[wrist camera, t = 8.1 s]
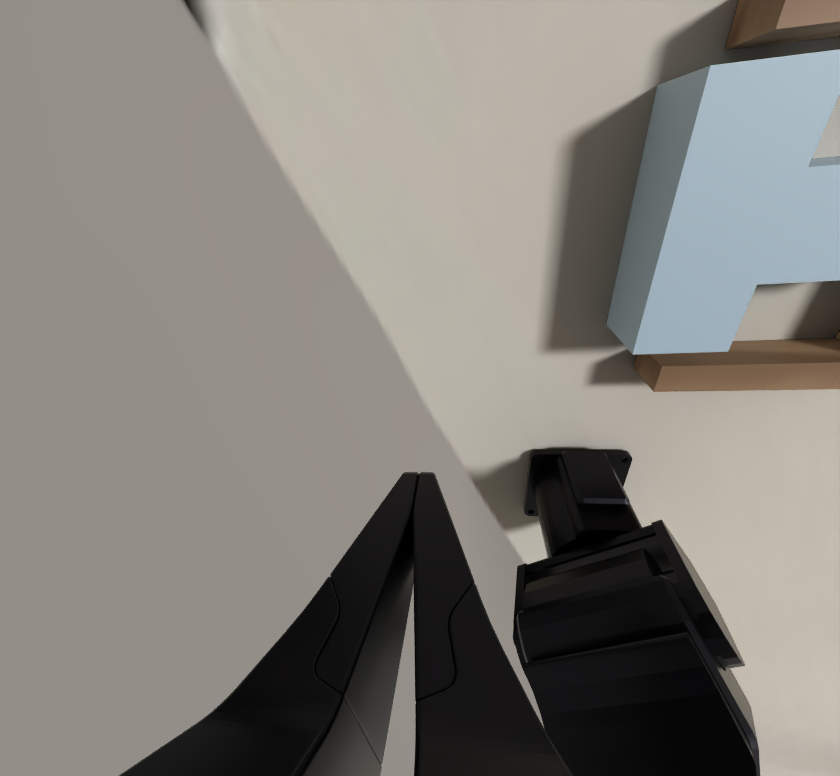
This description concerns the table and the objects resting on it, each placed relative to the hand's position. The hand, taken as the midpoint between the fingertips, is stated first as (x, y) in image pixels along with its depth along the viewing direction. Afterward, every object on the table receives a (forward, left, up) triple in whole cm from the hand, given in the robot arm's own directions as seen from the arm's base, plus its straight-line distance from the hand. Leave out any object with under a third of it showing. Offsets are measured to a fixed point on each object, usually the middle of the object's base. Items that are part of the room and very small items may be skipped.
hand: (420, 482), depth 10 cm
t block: (+4, -14, -12) cm, 19 cm away
